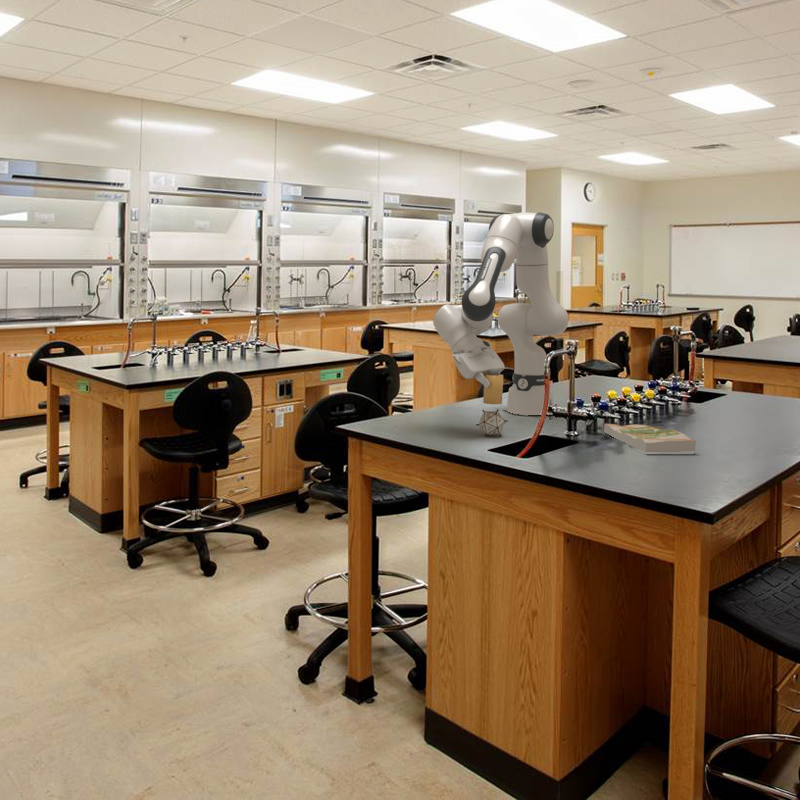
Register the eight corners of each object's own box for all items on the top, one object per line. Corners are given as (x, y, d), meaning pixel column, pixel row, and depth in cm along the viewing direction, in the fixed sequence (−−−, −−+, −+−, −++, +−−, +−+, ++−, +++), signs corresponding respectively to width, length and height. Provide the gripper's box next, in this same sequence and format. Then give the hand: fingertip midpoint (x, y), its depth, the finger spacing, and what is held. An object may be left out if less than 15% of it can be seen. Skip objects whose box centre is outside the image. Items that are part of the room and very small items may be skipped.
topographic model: (694, 456, 219) (695, 438, 218) (645, 456, 217) (646, 438, 217) (647, 435, 248) (648, 419, 248) (603, 435, 247) (604, 419, 246)
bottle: (488, 400, 241) (489, 368, 239) (505, 402, 238) (506, 370, 236) (480, 403, 236) (481, 369, 235) (497, 404, 233) (498, 371, 232)
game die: (495, 449, 238) (505, 426, 231) (469, 437, 239) (479, 414, 232) (503, 430, 244) (513, 408, 237) (478, 419, 245) (487, 396, 238)
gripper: (456, 345, 230) (484, 381, 226) (492, 342, 247) (518, 376, 242) (443, 359, 234) (470, 395, 229) (479, 355, 250) (505, 388, 245)
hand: (495, 385), depth 236 cm, fingers closed on bottle, 6 cm apart
